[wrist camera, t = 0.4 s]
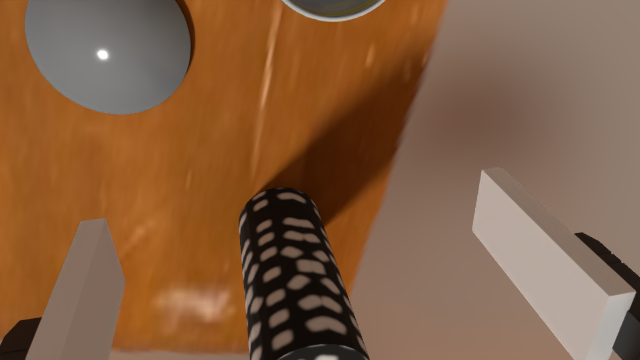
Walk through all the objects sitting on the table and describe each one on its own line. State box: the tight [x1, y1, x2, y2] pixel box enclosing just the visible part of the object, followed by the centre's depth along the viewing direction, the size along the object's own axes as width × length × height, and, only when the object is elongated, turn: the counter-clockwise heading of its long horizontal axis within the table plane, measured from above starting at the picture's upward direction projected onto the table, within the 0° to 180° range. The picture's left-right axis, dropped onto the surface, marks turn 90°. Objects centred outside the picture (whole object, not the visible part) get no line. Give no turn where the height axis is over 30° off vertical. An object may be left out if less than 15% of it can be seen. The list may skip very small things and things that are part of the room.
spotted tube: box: [239, 188, 370, 360], centre depth 41 cm, size 8×8×20 cm
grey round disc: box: [25, 0, 191, 114], centre depth 38 cm, size 12×12×1 cm
